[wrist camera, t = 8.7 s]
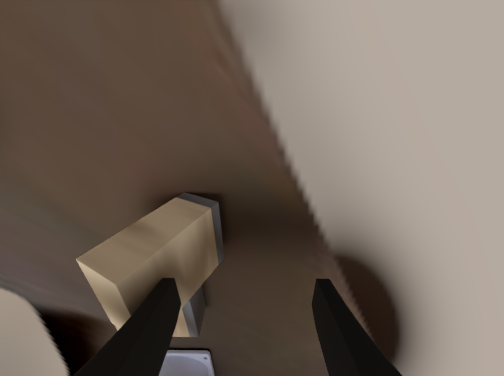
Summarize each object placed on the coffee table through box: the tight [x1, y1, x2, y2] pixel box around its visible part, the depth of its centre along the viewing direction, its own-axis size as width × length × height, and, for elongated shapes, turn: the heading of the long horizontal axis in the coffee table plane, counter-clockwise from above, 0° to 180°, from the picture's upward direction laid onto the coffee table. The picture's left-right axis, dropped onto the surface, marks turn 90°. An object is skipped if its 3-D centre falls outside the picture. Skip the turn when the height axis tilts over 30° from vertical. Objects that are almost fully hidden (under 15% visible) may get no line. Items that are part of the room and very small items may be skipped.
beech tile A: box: [115, 285, 206, 337], centre depth 19 cm, size 5×3×7 cm
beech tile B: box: [76, 192, 225, 329], centre depth 13 cm, size 5×3×7 cm, turn 1°
